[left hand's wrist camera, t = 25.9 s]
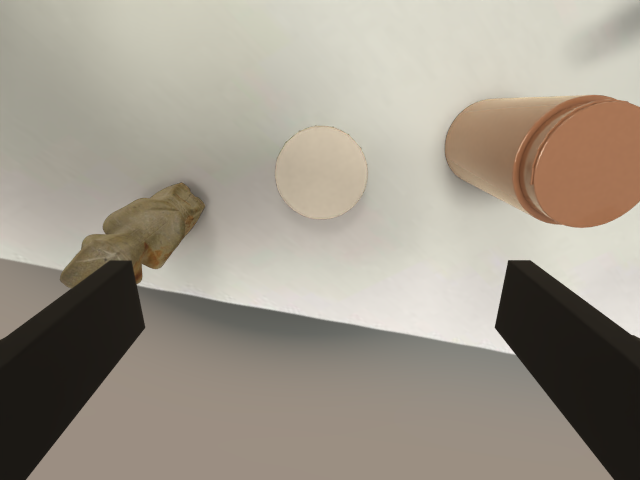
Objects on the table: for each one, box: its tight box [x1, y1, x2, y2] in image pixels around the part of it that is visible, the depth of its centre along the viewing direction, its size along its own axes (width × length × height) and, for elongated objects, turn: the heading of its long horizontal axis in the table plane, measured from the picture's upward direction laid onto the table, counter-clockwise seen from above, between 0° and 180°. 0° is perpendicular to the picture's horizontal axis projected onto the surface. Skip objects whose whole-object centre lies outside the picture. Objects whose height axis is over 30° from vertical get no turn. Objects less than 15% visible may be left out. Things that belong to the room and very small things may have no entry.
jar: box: [445, 95, 640, 228], centre depth 29 cm, size 8×8×16 cm
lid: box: [275, 125, 368, 219], centre depth 36 cm, size 9×9×2 cm
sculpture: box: [60, 183, 205, 289], centre depth 32 cm, size 6×7×15 cm
